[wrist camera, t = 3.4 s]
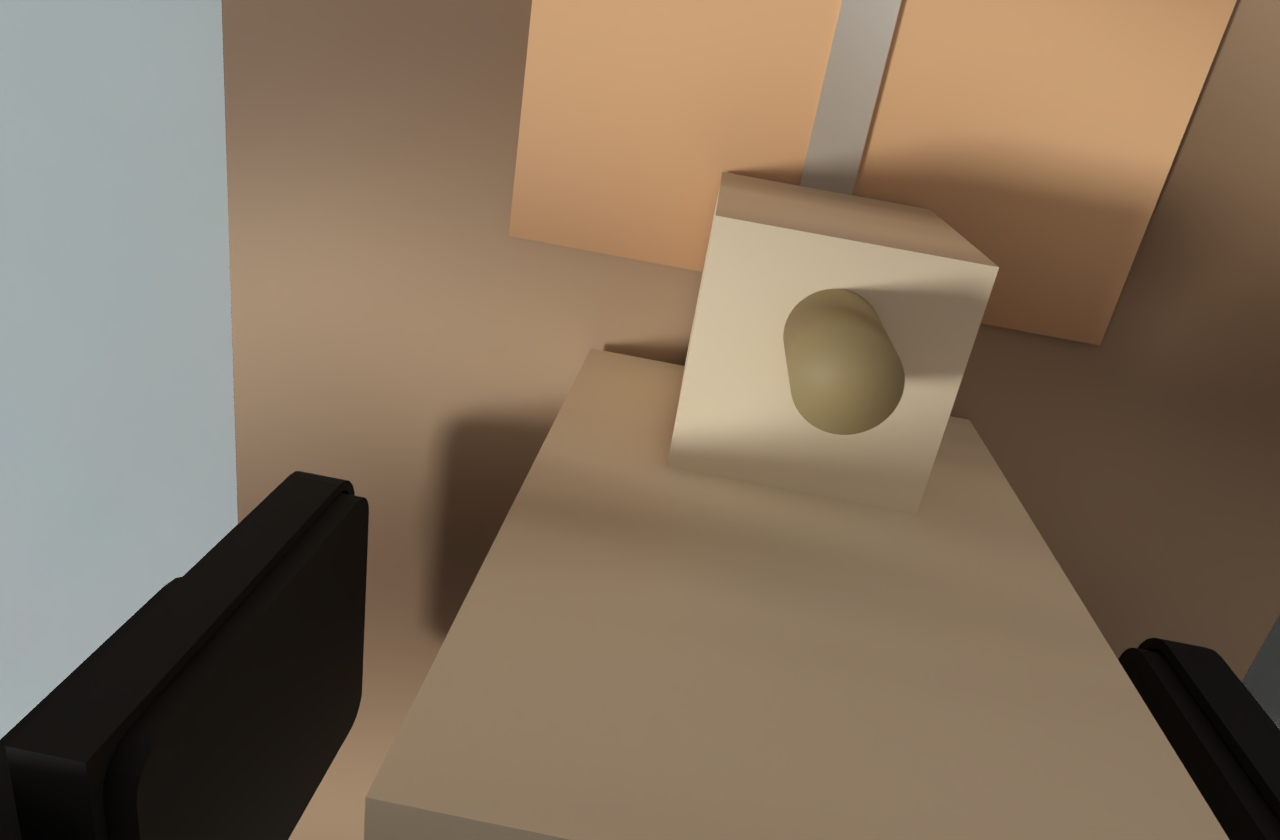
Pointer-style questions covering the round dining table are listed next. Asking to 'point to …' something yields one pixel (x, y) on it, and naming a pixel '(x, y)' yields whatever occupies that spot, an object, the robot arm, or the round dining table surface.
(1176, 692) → the robot arm
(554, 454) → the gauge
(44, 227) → the round dining table surface
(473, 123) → the board
